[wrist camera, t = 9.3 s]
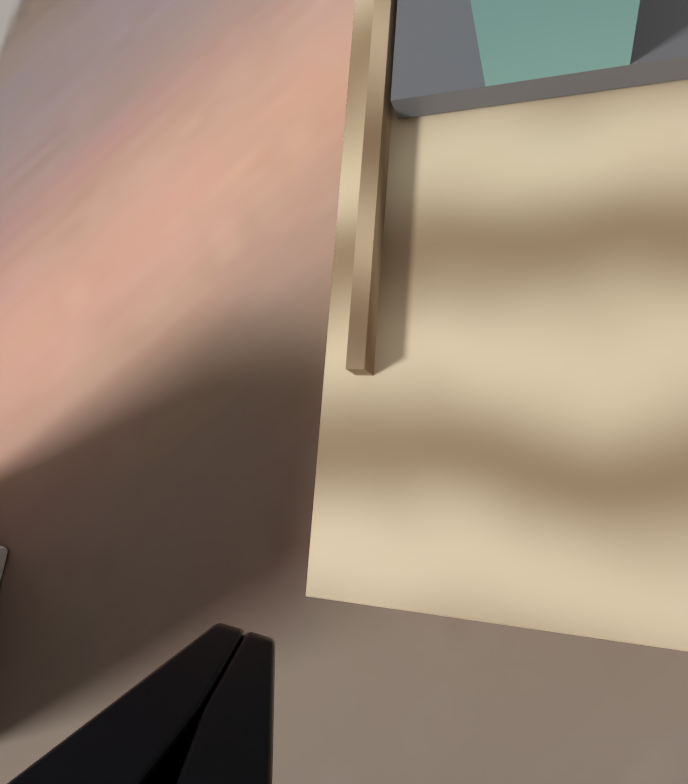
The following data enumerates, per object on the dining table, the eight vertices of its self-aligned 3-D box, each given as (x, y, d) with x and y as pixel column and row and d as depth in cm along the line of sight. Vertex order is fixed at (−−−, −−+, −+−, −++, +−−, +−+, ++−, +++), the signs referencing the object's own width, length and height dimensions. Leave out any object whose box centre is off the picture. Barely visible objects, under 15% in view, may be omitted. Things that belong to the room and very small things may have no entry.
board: (818, 652, 16) (882, 688, 13) (333, 586, 21) (292, 600, 18) (786, -28, 20) (832, -133, 16) (374, 47, 24) (346, -23, 21)
